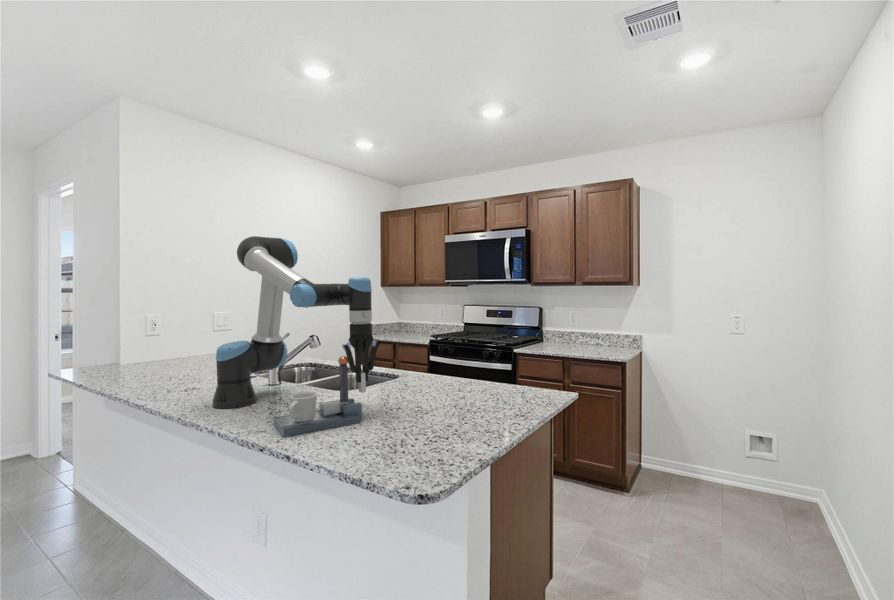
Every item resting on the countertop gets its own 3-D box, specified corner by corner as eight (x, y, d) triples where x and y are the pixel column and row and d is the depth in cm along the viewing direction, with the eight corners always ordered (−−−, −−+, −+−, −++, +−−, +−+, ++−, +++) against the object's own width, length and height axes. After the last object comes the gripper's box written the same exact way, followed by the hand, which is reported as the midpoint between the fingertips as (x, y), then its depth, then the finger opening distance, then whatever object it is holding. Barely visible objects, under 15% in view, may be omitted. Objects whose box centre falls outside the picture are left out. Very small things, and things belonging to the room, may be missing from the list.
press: (274, 425, 142) (273, 408, 142) (349, 412, 156) (349, 396, 155) (283, 437, 130) (283, 419, 130) (365, 422, 144) (364, 405, 144)
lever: (319, 412, 145) (318, 357, 145) (346, 408, 150) (345, 354, 150) (324, 416, 141) (322, 359, 140) (351, 411, 146) (350, 356, 145)
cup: (302, 428, 130) (301, 401, 130) (279, 426, 132) (278, 399, 132) (322, 417, 140) (321, 392, 140) (300, 415, 142) (299, 391, 142)
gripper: (346, 324, 143) (347, 396, 144) (382, 322, 150) (384, 391, 151) (338, 323, 149) (340, 392, 150) (374, 321, 156) (375, 386, 157)
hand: (362, 391), depth 151 cm, fingers closed
